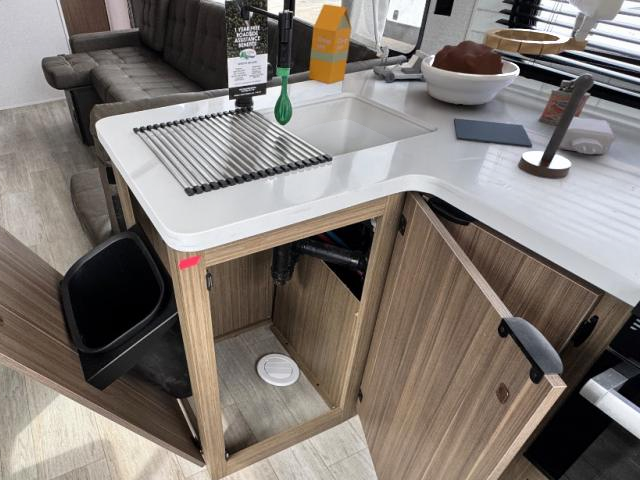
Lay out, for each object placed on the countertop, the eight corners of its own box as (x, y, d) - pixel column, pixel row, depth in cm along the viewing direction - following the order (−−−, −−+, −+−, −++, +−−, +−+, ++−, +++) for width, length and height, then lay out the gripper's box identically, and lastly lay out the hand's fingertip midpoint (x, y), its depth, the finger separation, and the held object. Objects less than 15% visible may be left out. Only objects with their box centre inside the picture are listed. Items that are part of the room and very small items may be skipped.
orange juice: (323, 74, 146) (331, 3, 133) (344, 79, 141) (355, 6, 128) (308, 78, 142) (315, 5, 129) (329, 84, 137) (338, 8, 124)
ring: (573, 43, 96) (578, 32, 95) (592, 58, 85) (598, 47, 84) (480, 36, 101) (483, 26, 99) (486, 50, 89) (490, 39, 88)
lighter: (538, 121, 112) (556, 79, 105) (539, 118, 114) (558, 76, 107) (574, 128, 108) (595, 84, 101) (575, 124, 110) (596, 81, 104)
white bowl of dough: (456, 84, 137) (473, 29, 127) (526, 107, 120) (551, 45, 110) (394, 94, 129) (407, 36, 119) (459, 120, 112) (481, 54, 102)
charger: (558, 158, 94) (554, 135, 104) (608, 166, 91) (598, 142, 101) (569, 136, 91) (563, 115, 101) (622, 144, 88) (610, 121, 98)
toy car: (383, 48, 132) (370, 40, 140) (376, 83, 138) (364, 74, 147) (439, 47, 133) (423, 39, 142) (430, 81, 140) (415, 72, 148)
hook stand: (561, 163, 92) (608, 70, 80) (571, 181, 86) (625, 82, 74) (515, 157, 94) (554, 66, 82) (521, 175, 88) (565, 78, 76)
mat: (521, 126, 109) (522, 124, 108) (531, 147, 99) (532, 145, 98) (453, 120, 112) (454, 118, 112) (456, 139, 102) (457, 137, 102)
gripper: (656, -42, 73) (609, 51, 82) (617, -48, 87) (581, 31, 96) (613, -44, 74) (572, 48, 83) (582, -49, 89) (549, 29, 98)
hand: (576, 39), depth 90 cm, fingers closed on ring, 1 cm apart
